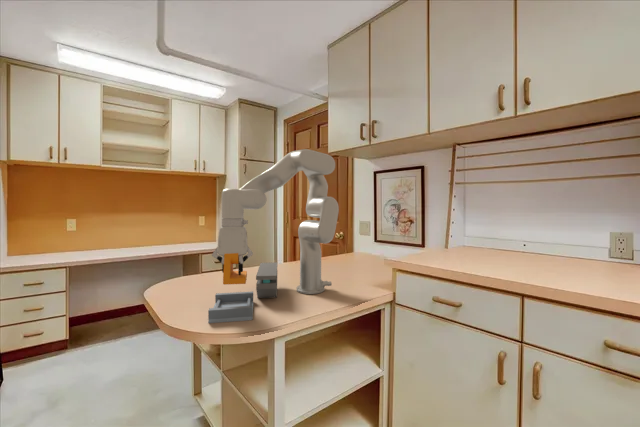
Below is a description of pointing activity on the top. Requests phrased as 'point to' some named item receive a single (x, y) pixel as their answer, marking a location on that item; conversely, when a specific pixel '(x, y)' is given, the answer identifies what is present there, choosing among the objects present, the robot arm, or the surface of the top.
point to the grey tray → (231, 307)
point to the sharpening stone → (267, 280)
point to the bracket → (228, 272)
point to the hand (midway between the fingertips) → (232, 273)
